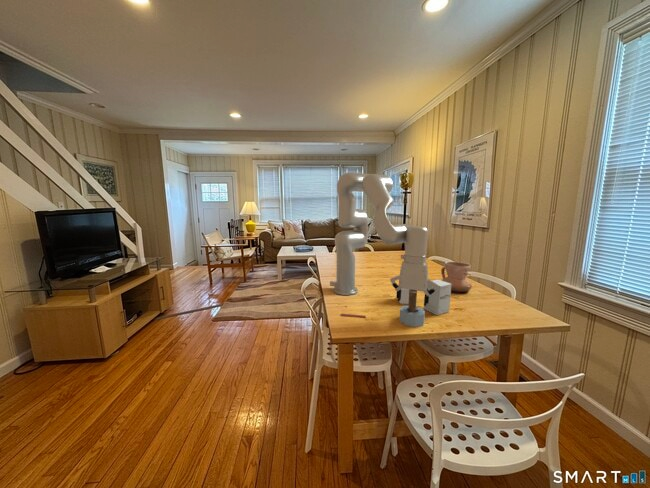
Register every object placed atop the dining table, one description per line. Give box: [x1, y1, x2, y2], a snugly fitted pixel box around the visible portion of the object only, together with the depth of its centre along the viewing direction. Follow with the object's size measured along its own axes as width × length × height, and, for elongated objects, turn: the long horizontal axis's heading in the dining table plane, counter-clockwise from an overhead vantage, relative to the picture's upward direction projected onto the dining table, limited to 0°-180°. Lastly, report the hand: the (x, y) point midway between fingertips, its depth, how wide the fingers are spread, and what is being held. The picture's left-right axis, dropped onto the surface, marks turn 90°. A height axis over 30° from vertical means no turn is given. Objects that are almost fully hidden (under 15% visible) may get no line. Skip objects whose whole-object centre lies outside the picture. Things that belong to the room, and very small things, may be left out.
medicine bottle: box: [398, 288, 409, 305], centre depth 118 cm, size 7×7×12 cm
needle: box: [407, 289, 418, 313], centre depth 98 cm, size 3×3×13 cm
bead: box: [399, 304, 426, 328], centre depth 98 cm, size 9×9×5 cm
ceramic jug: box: [441, 260, 473, 293], centre depth 134 cm, size 18×14×14 cm
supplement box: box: [423, 279, 452, 316], centre depth 108 cm, size 7×7×13 cm
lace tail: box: [340, 313, 367, 318], centre depth 103 cm, size 10×1×1 cm, turn 78°
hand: (411, 302), depth 98 cm, fingers open, 9 cm apart
